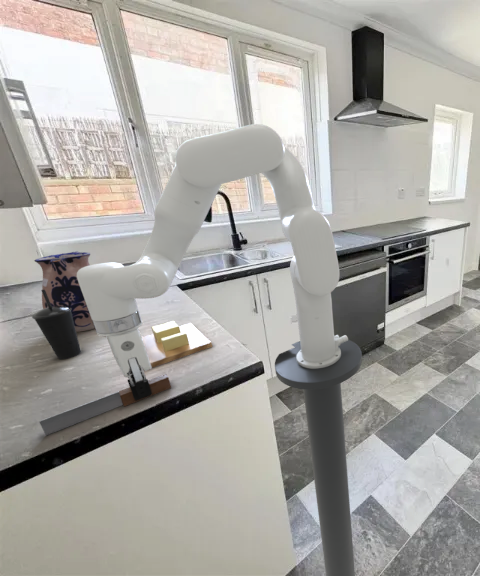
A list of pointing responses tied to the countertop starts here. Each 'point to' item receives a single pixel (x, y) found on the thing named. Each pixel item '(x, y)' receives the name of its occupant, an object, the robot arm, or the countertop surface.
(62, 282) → the ceramic pitcher
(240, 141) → the robot arm
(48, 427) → the knife
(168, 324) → the butter block
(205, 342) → the board
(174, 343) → the butter slice
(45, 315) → the drinking cup
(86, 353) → the countertop surface
